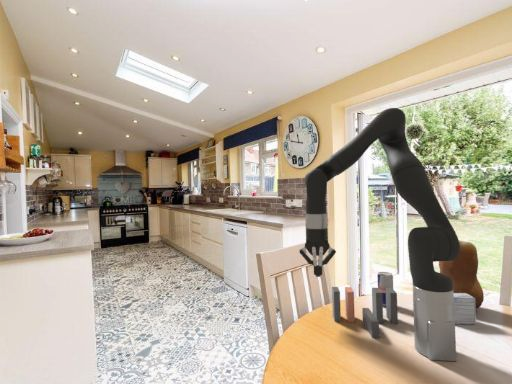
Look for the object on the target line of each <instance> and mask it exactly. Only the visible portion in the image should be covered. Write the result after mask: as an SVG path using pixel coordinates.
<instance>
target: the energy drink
mask: <svg viewBox="0 0 512 384" xmlns="http://www.w3.org/2000/svg"><path fill="white" fill-rule="evenodd" d="M377 288H379V290H380V291H381V292H382V299H383V308H386V288H392V289H393V290H394V275H393V273H392V272H388V271H378V272H377Z"/></svg>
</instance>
